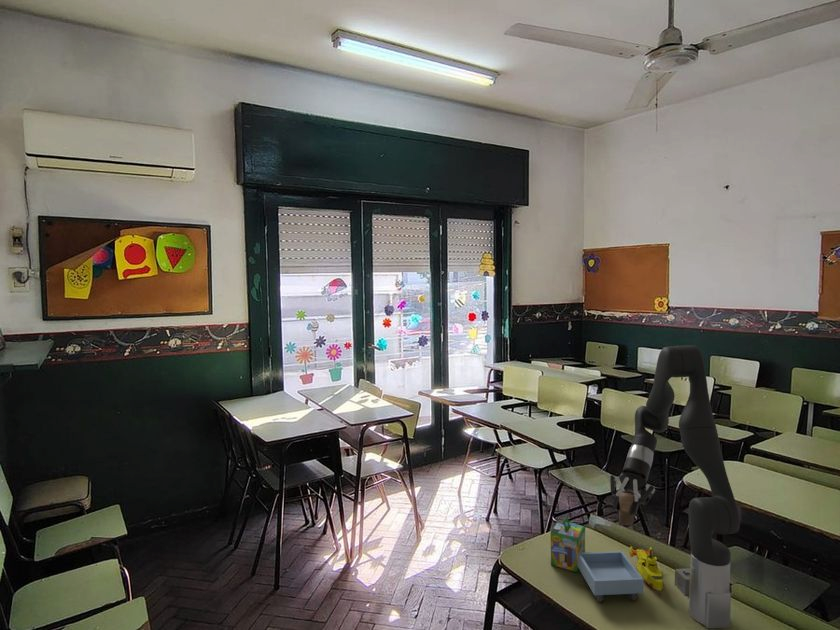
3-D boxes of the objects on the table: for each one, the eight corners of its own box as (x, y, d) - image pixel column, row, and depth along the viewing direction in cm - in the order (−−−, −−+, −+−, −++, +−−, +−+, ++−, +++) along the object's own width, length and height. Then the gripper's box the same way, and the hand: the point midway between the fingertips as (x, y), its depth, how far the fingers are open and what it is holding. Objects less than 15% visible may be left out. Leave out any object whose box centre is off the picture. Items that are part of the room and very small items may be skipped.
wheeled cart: (643, 603, 141) (643, 579, 140) (594, 605, 140) (594, 581, 140) (621, 573, 155) (622, 550, 154) (577, 575, 154) (577, 552, 154)
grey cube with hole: (674, 585, 149) (675, 569, 148) (690, 583, 149) (690, 567, 149) (685, 595, 144) (685, 579, 143) (701, 594, 144) (701, 578, 144)
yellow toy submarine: (649, 562, 160) (649, 532, 159) (671, 599, 143) (672, 566, 142) (628, 561, 161) (629, 531, 160) (648, 598, 143) (649, 565, 142)
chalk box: (578, 574, 155) (579, 528, 153) (549, 565, 160) (549, 521, 158) (586, 559, 163) (586, 515, 161) (558, 551, 168) (558, 509, 166)
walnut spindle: (635, 525, 153) (636, 497, 153) (622, 525, 153) (622, 497, 152) (629, 518, 157) (630, 491, 157) (616, 519, 157) (616, 491, 157)
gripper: (613, 451, 164) (597, 500, 156) (659, 462, 154) (644, 514, 146) (619, 462, 168) (604, 510, 161) (664, 473, 159) (650, 524, 151)
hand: (623, 511), depth 154 cm, fingers closed on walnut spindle, 4 cm apart
